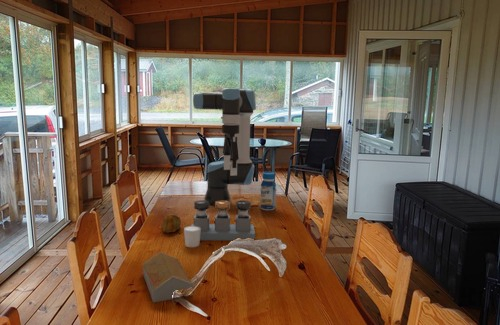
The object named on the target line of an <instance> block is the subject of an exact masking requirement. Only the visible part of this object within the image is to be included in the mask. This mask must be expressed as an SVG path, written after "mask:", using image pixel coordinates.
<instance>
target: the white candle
mask: <svg viewBox="0 0 500 325" xmlns="http://www.w3.org/2000/svg"><path fill="white" fill-rule="evenodd" d="M183 232H184V234H183V235H184V242H185V243H184V244H185V247H188V248H197V247H199V246H200V241H201V240H200V232H201V228H200V227H198V226H191V225H189V226H185V227H184V228H183Z"/></svg>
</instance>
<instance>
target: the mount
mask: <svg viewBox="0 0 500 325" xmlns="http://www.w3.org/2000/svg"><path fill="white" fill-rule="evenodd" d="M251 220H252V218H251V215H250V214H248V218H239V214H236V215H235V223H234V224H233V223H232V224H231V222H230V221H231V215H230V214H227V218H218V213H217V214H215V215H214V223H212V224H211V223H210V214H207V213H206V218H197V213H195V214H194V216H193V223H192V224H190V226H198V227H200V228H201V232H200V241H235V240H234V239H237V238H241V239H246V238H252V239H255V240H256V231H255V227H254V226H255V225H254V224H251V222H252V221H251Z"/></svg>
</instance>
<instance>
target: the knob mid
mask: <svg viewBox="0 0 500 325" xmlns="http://www.w3.org/2000/svg"><path fill="white" fill-rule="evenodd" d="M214 207H215V209H216V210H217V214H218V218H227V215H228V210H230V209H231V201H230V202H229V201H223V200H222V201H216V202H215V205H214Z"/></svg>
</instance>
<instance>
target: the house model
mask: <svg viewBox="0 0 500 325" xmlns="http://www.w3.org/2000/svg"><path fill="white" fill-rule="evenodd" d="M141 266H142V276H143V278H144V280H145V283H146V286H147V289H148V292H149V294H150V298H151V300H152V303H159V302H163V301H170V300H173V299H172V295H173V292H174V291H175V290H179V291H180V290H182V289H187V288H190V287H193V285H194V283H193V281H192V280H191V279H190V277H189V275H188V273H187V271H186V270H185V268H184V267H183V265H182V263H181V262H180V261H179V258H176V257H175V256H172V255H169V254H166V253H164V252H162V251H160V252H158V253H156V254H155V255H154V256H152V257H150V258H149V259H148V260H146V261H145V262H142V264H141ZM190 296H193V292H192V294H191V295H190ZM190 296H189V297H190Z"/></svg>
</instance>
